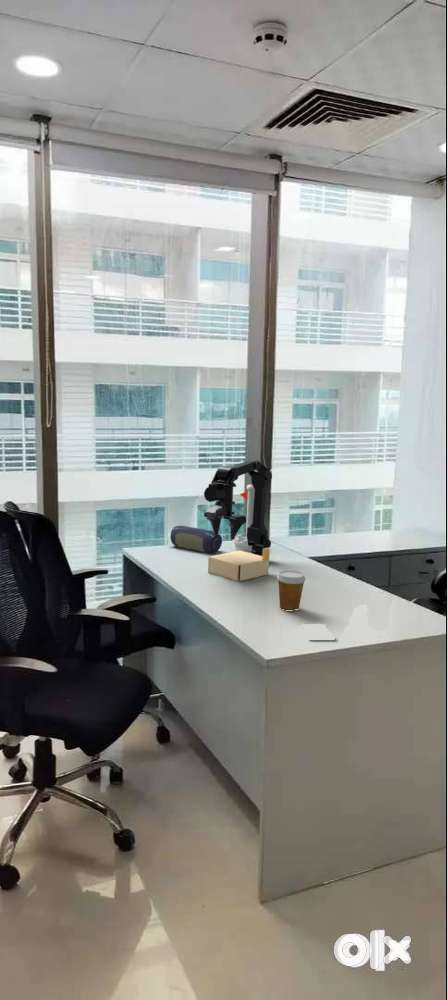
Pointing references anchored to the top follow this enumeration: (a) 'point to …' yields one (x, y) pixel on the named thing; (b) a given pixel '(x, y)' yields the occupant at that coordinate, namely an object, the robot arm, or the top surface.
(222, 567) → the carton
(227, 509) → the robot arm
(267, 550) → the carton flap
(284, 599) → the disposable coffee cup
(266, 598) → the top surface
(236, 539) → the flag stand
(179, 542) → the portable speaker
